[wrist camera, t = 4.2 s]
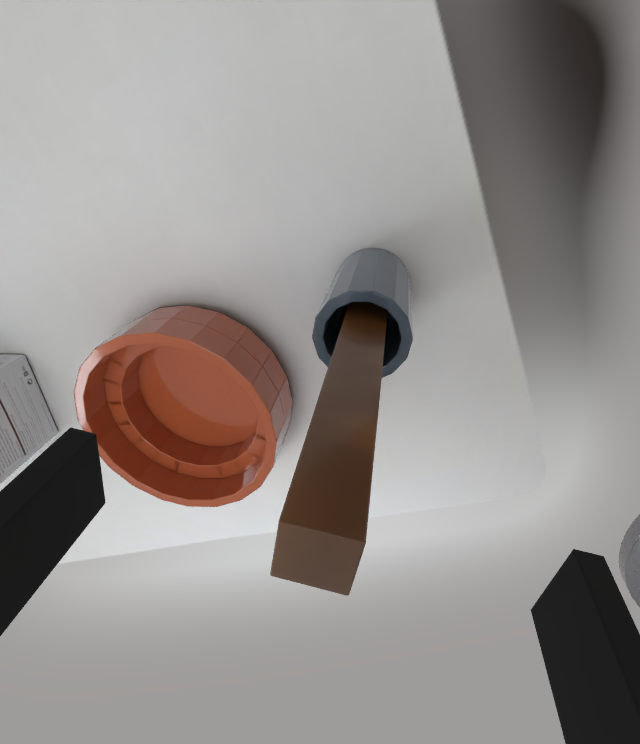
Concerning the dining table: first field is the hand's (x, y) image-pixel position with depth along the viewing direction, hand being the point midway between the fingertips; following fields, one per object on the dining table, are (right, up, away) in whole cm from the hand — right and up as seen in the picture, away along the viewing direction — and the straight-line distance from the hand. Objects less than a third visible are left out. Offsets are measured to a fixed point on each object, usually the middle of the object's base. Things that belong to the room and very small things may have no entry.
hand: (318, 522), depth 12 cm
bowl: (-10, +3, +26) cm, 27 cm away
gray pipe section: (+4, +10, +19) cm, 22 cm away
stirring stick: (+4, +10, +18) cm, 21 cm away
